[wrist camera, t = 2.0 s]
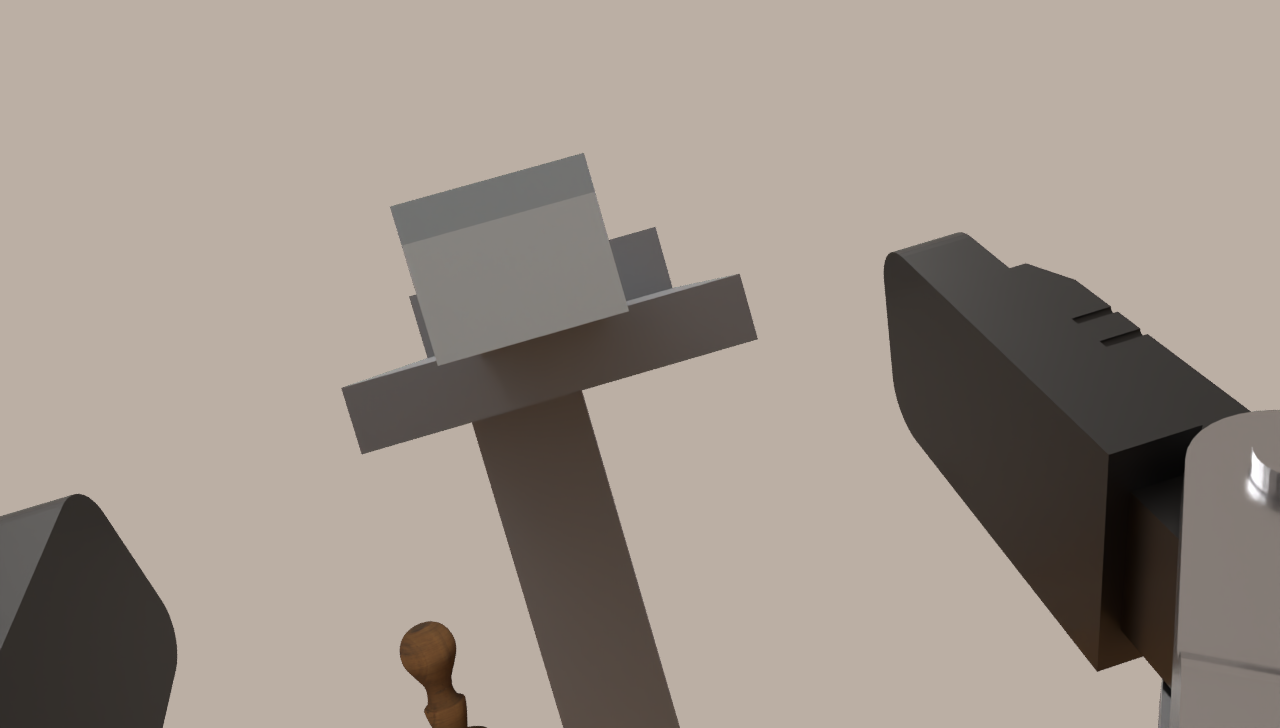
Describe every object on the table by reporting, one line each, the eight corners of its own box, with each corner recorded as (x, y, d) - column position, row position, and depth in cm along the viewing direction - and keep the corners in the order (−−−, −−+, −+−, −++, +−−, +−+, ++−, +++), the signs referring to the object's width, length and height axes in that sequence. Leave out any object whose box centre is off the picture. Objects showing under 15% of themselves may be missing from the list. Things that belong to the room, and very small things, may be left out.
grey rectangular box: (628, 310, 21) (583, 152, 20) (437, 365, 20) (389, 206, 20) (594, 311, 45) (572, 238, 44) (506, 336, 44) (484, 263, 44)
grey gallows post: (1010, 1251, 32) (712, 174, 30) (646, 1378, 31) (310, 287, 29) (837, 888, 52) (652, 229, 50) (614, 961, 52) (414, 297, 49)
